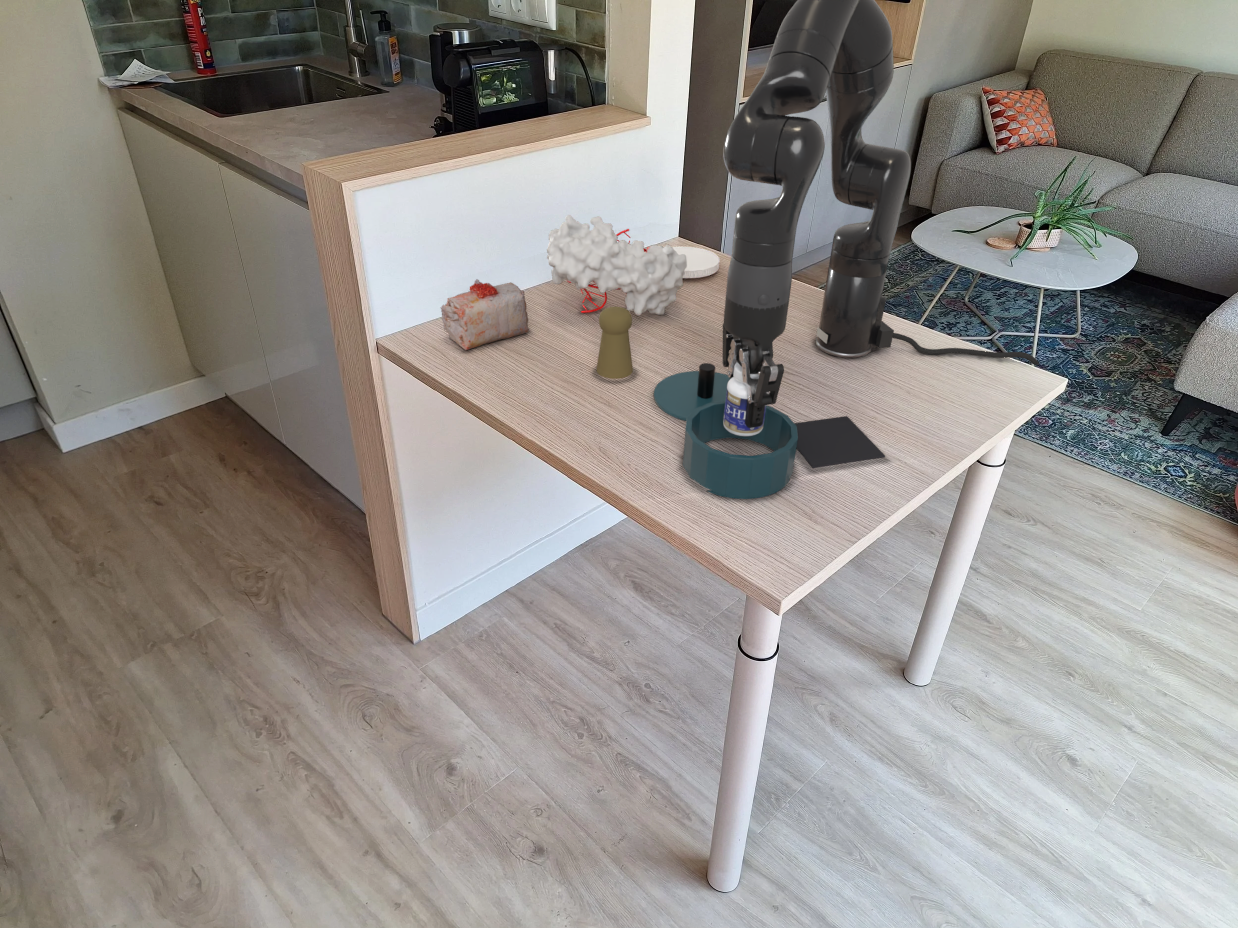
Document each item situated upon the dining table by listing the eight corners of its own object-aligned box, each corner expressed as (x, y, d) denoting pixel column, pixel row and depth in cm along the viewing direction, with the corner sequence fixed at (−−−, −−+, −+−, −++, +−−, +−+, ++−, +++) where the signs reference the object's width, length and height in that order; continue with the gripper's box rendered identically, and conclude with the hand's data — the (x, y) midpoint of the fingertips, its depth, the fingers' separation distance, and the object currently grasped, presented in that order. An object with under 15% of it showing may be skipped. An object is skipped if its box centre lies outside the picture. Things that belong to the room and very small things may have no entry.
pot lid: (732, 372, 137) (736, 339, 134) (772, 420, 125) (777, 385, 122) (641, 383, 134) (642, 349, 130) (672, 433, 121) (674, 398, 118)
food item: (462, 355, 140) (456, 300, 135) (441, 338, 146) (435, 284, 140) (532, 336, 147) (530, 282, 142) (510, 320, 152) (507, 267, 147)
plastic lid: (637, 272, 172) (638, 260, 171) (673, 253, 182) (673, 241, 181) (697, 288, 166) (698, 276, 165) (730, 267, 176) (731, 255, 174)
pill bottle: (718, 432, 110) (723, 372, 105) (729, 413, 114) (734, 354, 109) (758, 440, 108) (765, 380, 103) (767, 421, 112) (775, 361, 107)
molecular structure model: (610, 322, 170) (509, 270, 154) (657, 240, 166) (559, 178, 150) (659, 360, 155) (553, 306, 139) (712, 271, 151) (609, 205, 135)
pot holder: (846, 420, 125) (846, 415, 125) (884, 460, 117) (885, 455, 116) (778, 429, 123) (778, 425, 122) (812, 471, 114) (812, 466, 114)
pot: (764, 432, 122) (769, 394, 118) (809, 490, 110) (817, 449, 107) (668, 445, 119) (671, 407, 115) (705, 506, 107) (709, 465, 104)
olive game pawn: (629, 384, 133) (631, 319, 127) (592, 379, 134) (592, 315, 128) (636, 366, 138) (638, 304, 132) (600, 362, 139) (600, 300, 133)
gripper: (813, 314, 96) (794, 439, 105) (762, 267, 107) (749, 384, 117) (752, 321, 94) (738, 447, 104) (707, 273, 105) (698, 391, 115)
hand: (744, 413), depth 110 cm, fingers closed on pill bottle, 5 cm apart
